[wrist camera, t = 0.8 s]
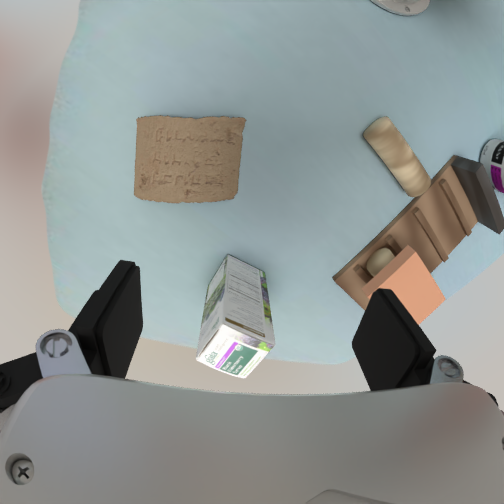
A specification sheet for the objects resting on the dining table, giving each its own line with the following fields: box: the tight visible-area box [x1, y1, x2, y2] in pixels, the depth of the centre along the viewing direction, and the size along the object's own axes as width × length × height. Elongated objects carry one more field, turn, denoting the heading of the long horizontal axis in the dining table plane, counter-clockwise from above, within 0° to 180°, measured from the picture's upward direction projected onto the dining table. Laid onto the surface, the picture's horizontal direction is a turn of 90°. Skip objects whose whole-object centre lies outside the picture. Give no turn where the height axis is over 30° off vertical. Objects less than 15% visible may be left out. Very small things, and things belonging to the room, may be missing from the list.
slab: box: [362, 245, 445, 325], centre depth 34 cm, size 8×11×2 cm
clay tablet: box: [134, 116, 246, 203], centre depth 32 cm, size 14×10×3 cm
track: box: [332, 155, 504, 310], centre depth 35 cm, size 26×12×6 cm, turn 137°
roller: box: [363, 117, 431, 197], centre depth 31 cm, size 4×10×4 cm, turn 47°
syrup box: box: [196, 255, 275, 379], centre depth 33 cm, size 6×6×14 cm
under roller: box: [367, 248, 395, 277], centre depth 37 cm, size 4×10×4 cm, turn 47°
